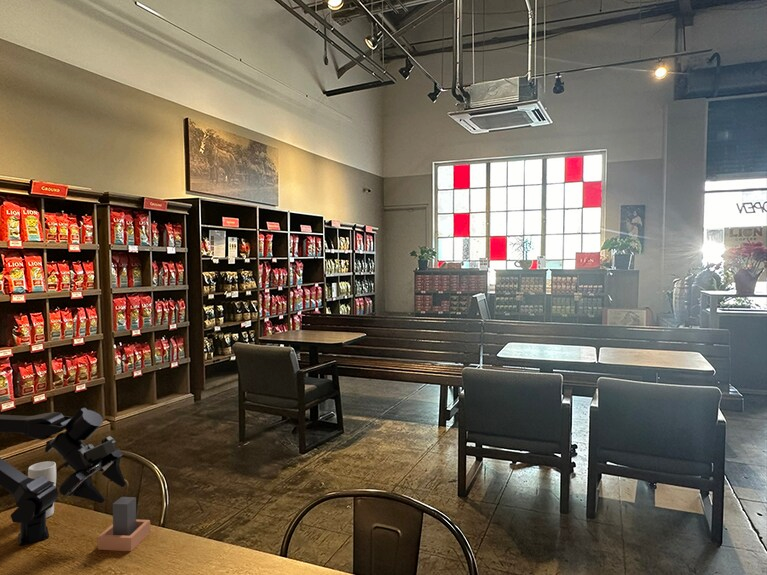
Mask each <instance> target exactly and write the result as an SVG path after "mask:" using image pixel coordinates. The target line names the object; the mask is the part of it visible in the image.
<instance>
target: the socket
mask: <svg viewBox="0 0 767 575" xmlns="http://www.w3.org/2000/svg"><path fill="white" fill-rule="evenodd" d="M149 534H151V520H150V519H138V518H136V530H135V531H134V532H133V533H132V534H131V535H130V536H125V535H113V523H112V524H110V526H108V527H107V528H106V529H105V530H104V531H103V532H101V533H100V534H99V535H98V536H97V550H98V551H99V550H102V551H119V552H120V551H121V552H132V551H133V550H134V549H135V548H136V547H137V546H138V545H139V544H140V543H141V542H142V541H144V539H145V538H146V537H147V536H149Z"/></svg>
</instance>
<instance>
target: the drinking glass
mask: <svg viewBox="0 0 767 575" xmlns="http://www.w3.org/2000/svg"><path fill="white" fill-rule="evenodd" d="M27 469H28V470H27V471H28V472H27V477H29V478H32V479H36V478H38V477H40V476H44V477H46V478H47V479H48V480H49V481H51V482H54V484H53V485H54V486H55V487H56V488H57V485H56V484H57V464H56V462H55V461H50V460H49V461H48V460H47V461H42V462H37V463H33V464H32V465H30V466H29V467H28V468H27ZM54 512H55V502H54V503H53V506H52V507H51V508H49V509H48V510H47V511H46V519H48V518H49V517H51V516H53V514H54Z"/></svg>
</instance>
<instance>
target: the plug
mask: <svg viewBox="0 0 767 575" xmlns="http://www.w3.org/2000/svg"><path fill="white" fill-rule="evenodd" d="M136 519H137V497H133V496H121V497H119V498H118V499H116V500H115V501H114V502H113V503H112V524H113V535H125V536H130V535H131V534H132V533H133V532H134V531H135V530H136Z"/></svg>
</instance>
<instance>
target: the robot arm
mask: <svg viewBox="0 0 767 575" xmlns="http://www.w3.org/2000/svg"><path fill="white" fill-rule="evenodd" d="M103 423H104V420H103V417H102V416H101V414H100V413H98V412H96V411H94V410H91V409H87V407H82V408H80V409H79V410H77V412H76V413H75V415H73V416H68V415H63V413H62V412H59V411H52V412H45V413H41V414H35V415H16V414H15V415H12V414H0V433H12V434H14V433H15V434H22V435H25V436H27V437H28V438H31V439H36V440H40V441H41V440H46V444H45V445H46V446H45V448H44V452H45V453H49V452H51V451H53V450H55V452H56V453H57V454H58V455H60V457H61V458H62V459H63V460H64V461H65V463H64V464H63V466H64V468H68V467H70V468H72V469H73V471H74V472H73V473H72V474H70V475H69V476H68V477H67V478H66V479H65V480H64V481H63V482H62V483H61V484H60V485H59V486H58V487H59V488H58V487H57V486H56V487H55V486H54V485H53V484H54V482H51V481H49V480H48V479H47V478H46V477H44V476H40V477H38V478H36V479H32V478H29V477H28V475H26V474H24V473H23V472H21V471H20V470H18V468H16V467H14V466H13V465H11V463H9V462H7V461H5V460H4V459H3V458H1V457H0V487H2V488H3V489H5V490H6V491H7V492H9V493H10V494H12V496H13V500H14V503H15V505H16V506H17V508H16V509H15V510H14V511H13V512H11V514H10V518H11V521H12V523H18V524H19V525H20V526H19V528H20V529H19V531H20V533H18V535H17V537H18V546H24V545H27V544H31V543H34V542H38V541H42V540H45V539H49V538H50V533H49V529H48V526H47V518H46V511H47V510H48V509H49V508H51V507H52V506H53V503H54V504H55V502H56V501H57V499H58V496H59V493H60V494H61V495H62V496H63V497H66V496H69V497H72V496H73V497H78V498H82V499H86V500H89V501H93V502H96V503H98V504H102V503H104V502H105V498H104V496H103V495H102V493H101V492H100V491H99V490H98V489H97V488H96V486H95V485H94V484H93V478H92V475H94V474H95V473H96V472H98V471H99V472H102V473H101V475H102V476H104V477H105V478H107V479H109V480H110V481H112V482H113V483H114V484H115V485H118V486H119V487H121V488H124V487H125V486H126V485H127V483H126V481H125V478H124V475H123V473H122V470H121V467H120V463H121V460H122V459H123V458H122V456H123V454H124V453H123V452H122V450H120V449H119V448H116V446H117V441H116V440H115V439H114V438H113V437H112V436H111V435H109V436H107V437H104V438H103V439H101V443H100V444H98V445H95V446H94V445H93V444H92V443H89V444H86V443H85V442H84V441H86V440H88V439H89V438H90V437H91V436H92V435H93V434H94V433H95V432H96V431H97V430H98V429H99V428H100V427H101V426H102V425H103ZM62 431H65V432H62ZM55 435H56V436H55ZM53 436H55V437H54V438H52V437H53ZM49 438H52V439H49ZM47 439H49V440H47ZM58 490H59V491H58ZM58 492H59V493H58Z"/></svg>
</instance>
